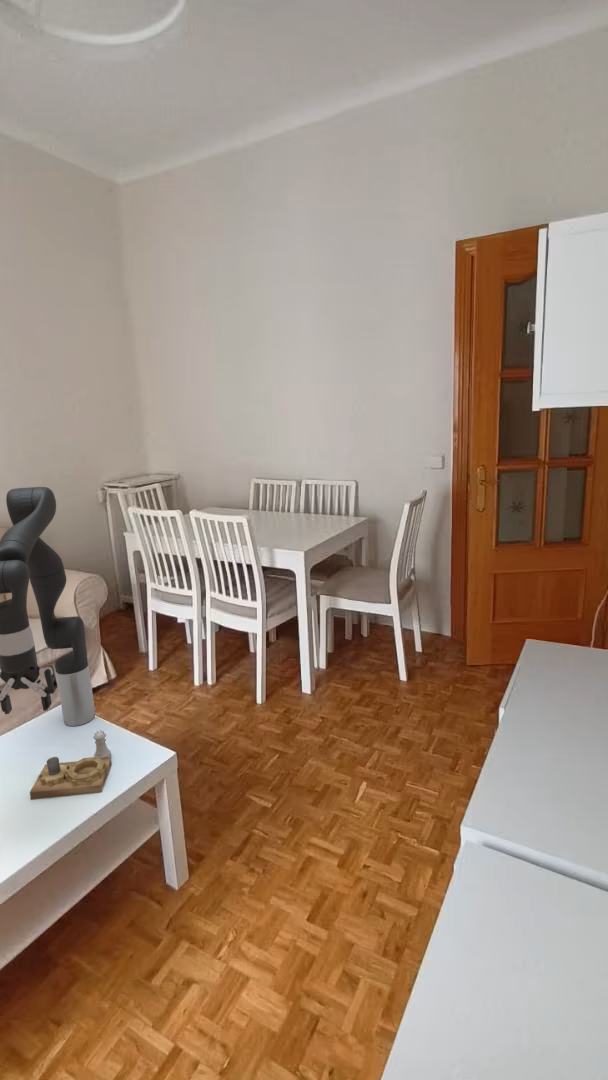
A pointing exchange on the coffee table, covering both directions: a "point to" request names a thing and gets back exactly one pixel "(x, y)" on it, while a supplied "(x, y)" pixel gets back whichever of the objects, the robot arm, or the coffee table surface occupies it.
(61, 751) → the coffee table surface
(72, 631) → the robot arm
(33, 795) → the gear board
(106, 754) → the rook chess piece
